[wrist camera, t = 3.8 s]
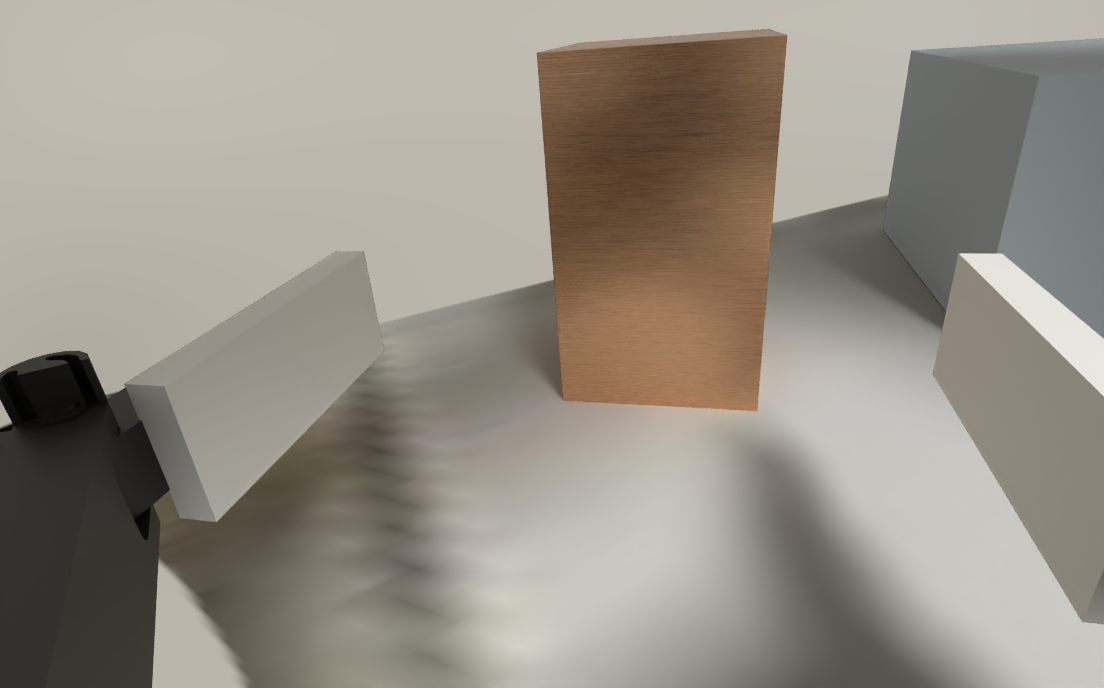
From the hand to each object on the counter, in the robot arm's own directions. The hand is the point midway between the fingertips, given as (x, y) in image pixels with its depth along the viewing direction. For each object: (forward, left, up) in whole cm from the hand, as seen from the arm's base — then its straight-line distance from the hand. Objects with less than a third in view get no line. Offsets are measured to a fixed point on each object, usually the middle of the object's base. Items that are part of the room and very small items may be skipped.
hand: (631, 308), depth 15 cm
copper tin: (0, -10, -7) cm, 12 cm away
